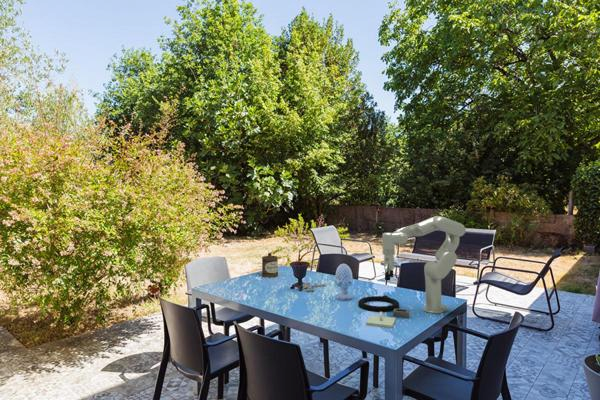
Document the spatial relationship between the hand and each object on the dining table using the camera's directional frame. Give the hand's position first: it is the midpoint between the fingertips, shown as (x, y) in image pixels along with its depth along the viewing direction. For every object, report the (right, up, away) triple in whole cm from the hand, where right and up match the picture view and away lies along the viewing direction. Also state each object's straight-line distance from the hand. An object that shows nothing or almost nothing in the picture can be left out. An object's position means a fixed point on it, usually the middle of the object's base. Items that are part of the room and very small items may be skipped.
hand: (389, 278), depth 240 cm
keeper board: (-9, -22, -19) cm, 30 cm away
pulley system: (-47, -22, +66) cm, 84 cm away
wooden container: (-85, -22, +113) cm, 143 cm away
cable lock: (-3, -22, +16) cm, 27 cm away
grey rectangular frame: (+6, -22, -8) cm, 24 cm away
